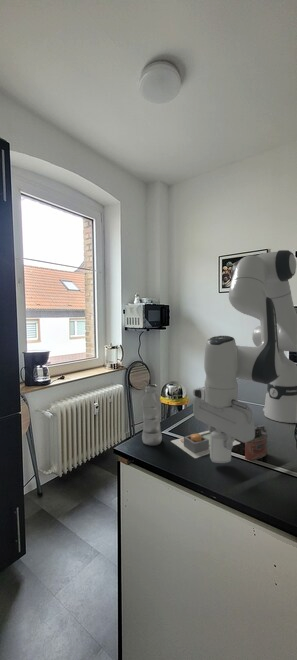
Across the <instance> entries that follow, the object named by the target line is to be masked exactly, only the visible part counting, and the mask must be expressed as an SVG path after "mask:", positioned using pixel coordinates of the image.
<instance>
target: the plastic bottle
mask: <svg viewBox="0 0 297 660" xmlns="http://www.w3.org/2000/svg"><path fill="white" fill-rule="evenodd" d="M144 392H145V393H144V395H143V396H142V398H141V402H140V403H141V409H142V421H143V425H142V434H141V439H142V443H143V445H144V444H145V445H146V446H153V447H154V446H158V445H160V444H161V443H162V439H163V436H162V430H161V423H160V421H161V420H160V419H161V418H160V416H161V415H160V414H161V406H162V401H161V398H160V396H159V395H158V394H157V392H158V390H157V385H156V384H147V385H145V389H144Z"/></svg>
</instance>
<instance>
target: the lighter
mask: <svg viewBox="0 0 297 660" xmlns="http://www.w3.org/2000/svg"><path fill="white" fill-rule="evenodd" d="M265 427H266V426H265V425H263V424H261V425H257V426H254V428H255V437H254V439H253V440H251V441H248V442H245V443H244V446H245V447H244V459H245V460H247V461H255V460H259V459H262V458H263V457H265V456H267V438H268V433H267V432H265V430H266V429H265Z"/></svg>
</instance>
